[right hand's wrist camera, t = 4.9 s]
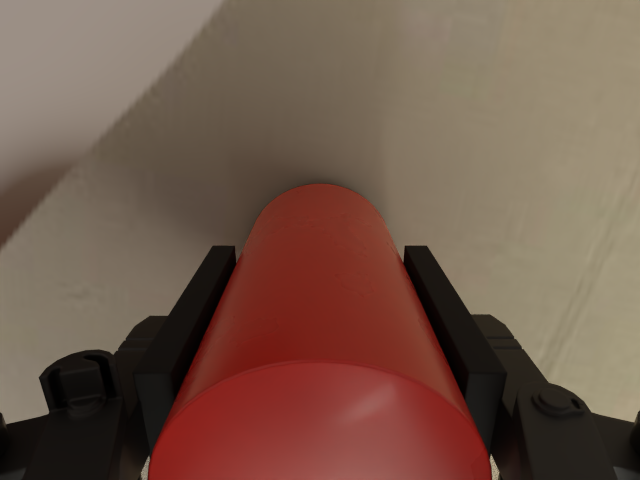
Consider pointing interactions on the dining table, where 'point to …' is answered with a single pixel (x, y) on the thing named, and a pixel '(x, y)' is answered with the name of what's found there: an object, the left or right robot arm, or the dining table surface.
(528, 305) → the dining table surface
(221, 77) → the dining table surface
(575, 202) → the dining table surface
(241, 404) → the tin
